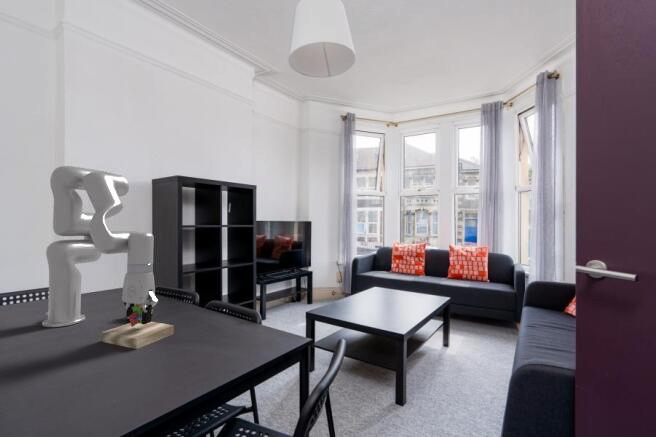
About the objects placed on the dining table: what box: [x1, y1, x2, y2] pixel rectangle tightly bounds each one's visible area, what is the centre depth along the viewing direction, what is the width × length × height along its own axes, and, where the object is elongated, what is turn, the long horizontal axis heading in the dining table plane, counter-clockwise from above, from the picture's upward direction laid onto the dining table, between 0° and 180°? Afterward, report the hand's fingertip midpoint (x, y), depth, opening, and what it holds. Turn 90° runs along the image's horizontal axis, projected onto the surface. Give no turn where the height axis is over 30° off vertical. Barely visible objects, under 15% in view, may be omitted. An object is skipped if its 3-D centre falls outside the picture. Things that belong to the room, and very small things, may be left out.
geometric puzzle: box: [127, 305, 147, 327], centre depth 105 cm, size 7×7×8 cm
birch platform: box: [100, 321, 175, 350], centre depth 105 cm, size 16×14×3 cm
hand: (138, 321), depth 105 cm, fingers closed on geometric puzzle, 6 cm apart
